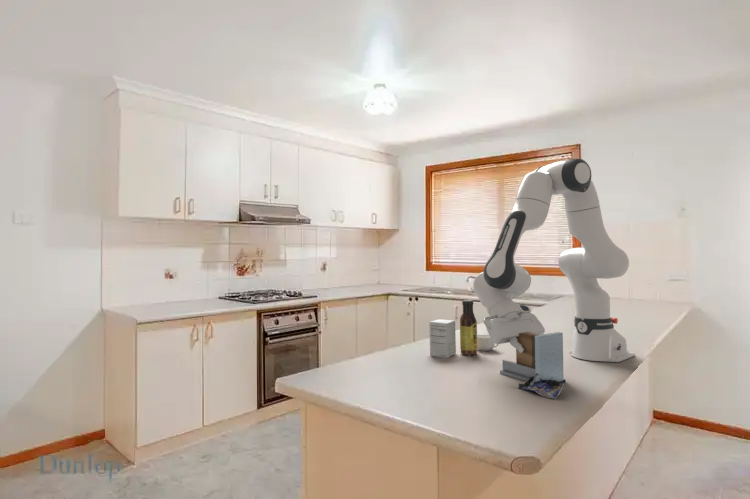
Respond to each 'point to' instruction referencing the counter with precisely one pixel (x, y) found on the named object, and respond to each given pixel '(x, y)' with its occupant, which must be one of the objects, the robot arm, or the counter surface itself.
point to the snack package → (544, 386)
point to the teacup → (485, 342)
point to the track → (540, 360)
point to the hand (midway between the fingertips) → (530, 350)
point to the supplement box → (442, 338)
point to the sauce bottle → (468, 329)
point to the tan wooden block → (529, 354)
